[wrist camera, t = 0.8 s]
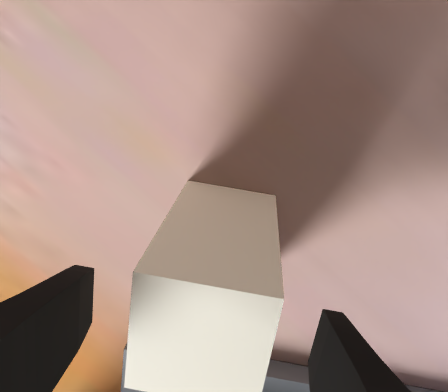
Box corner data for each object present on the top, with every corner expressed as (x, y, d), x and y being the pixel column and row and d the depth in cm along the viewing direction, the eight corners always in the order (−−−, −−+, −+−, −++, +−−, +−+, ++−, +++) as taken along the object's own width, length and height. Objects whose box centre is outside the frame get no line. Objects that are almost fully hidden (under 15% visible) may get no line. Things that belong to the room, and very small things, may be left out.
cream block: (275, 195, 18) (284, 298, 10) (259, 272, 19) (257, 413, 12) (187, 180, 18) (133, 271, 10) (178, 257, 19) (124, 387, 12)
